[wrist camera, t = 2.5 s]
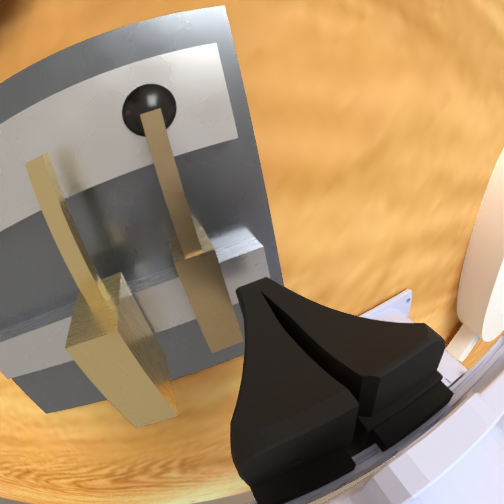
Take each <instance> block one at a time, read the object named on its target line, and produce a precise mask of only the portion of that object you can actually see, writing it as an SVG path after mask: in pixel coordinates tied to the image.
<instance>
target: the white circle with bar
mask: <svg viewBox="0 0 504 504" xmlns="http://www.w3.org/2000/svg"><path fill="white" fill-rule="evenodd" d="M457 314H458V318H459V320H460V322H461V323H463V325H462V326H461V328H460V329H459V331H458V332H457V334H456V335H455V336H454V338H453V339H452V340H451V342H450V343H449V345H448V346H447V347H446V350H447V351H448V352H449V353H450V354H451V355H452V356H453V357H454V358H456V359H457V360H459V361H461V362H463V361H464V359H465V358H466V357H467V355H468V354H469V353H470V351H471V350H472V348H473V347H474V346H475V344H476V343H477V341H478V340H479V338H481V339H482V340H484V341H485V342H489V341H491V340H493V339H495V338H496V337H497V336H498V335H499V334H500V333H501V332H502V331H503V330H504V149H503V151H502V152H501V154H500V156H499V158H498V161H497V163H496V165H495V168H494V170H493V172H492V175H491V177H490V180H489V183H488V185H487V188H486V191H485V194H484V197H483V200H482V203H481V205H480V209H479V212H478V215H477V218H476V221H475V224H474V228H473V231H472V234H471V238H470V241H469V245H468V248H467V252H466V256H465V260H464V264H463V268H462V272H461V277H460V282H459V288H458V295H457Z"/></svg>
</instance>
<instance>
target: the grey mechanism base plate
mask: <svg viewBox="0 0 504 504" xmlns="http://www.w3.org/2000/svg"><path fill="white" fill-rule="evenodd" d="M48 152H49V155H50V158H51V161H52V164H53V167H54V170H55V173H56V176H57V179H58V181H59V184H60V187H61V190H62V192H63V195H64V198H65V200H66V203H67V205H68V208H69V211H70V213H71V215H72V218H73V220H74V223H75V225H76V227H77V230H78V232H79V234H80V237H81V239H82V241H83V243H84V245H85V248H86V250H87V252H88V254H89V256H90V258H91V260H92V262H93V265H94V267H95V269H96V271H97V273H98V275H99V277H100V279H104V278H106V277H109V276H112V275H114V274H117V273H120V272H122V275H123V277H124V279H125V281H126V283H127V285H128V287H129V289H130V291H131V293H132V295H133V297H134V299H135V301H136V303H137V305H138V307H139V308H140V310H141V312H142V314H143V316H144V318H145V320H146V321H147V323H148V325H149V327H150V329H151V331H152V332H153V334H154V336H155V338H156V339H157V341H158V343H159V345H160V346H161V348H162V350H163V351H164V353H165V355H166V358H167V364H168V369H169V374H170V379H171V380H174V379H177V378H180V377H183V376H186V375H189V374H192V373H194V372H197V371H200V370H203V369H206V368H209V367H211V366H214V365H217V364H219V363H222V362H225V361H227V360H230V359H233V358H235V357H238V356H240V355H243V354H244V351H245V334H244V319H243V315H242V312H241V308H240V305H239V302H238V298H237V295H236V292H235V291H236V289H237V288H238V287H241V286H243V285H246V284H249V283H251V282H254V281H256V280H259V279H262V278H264V277H268V278H270V279H271V280H273V281H275V282H277V283H278V284H280V285H282V286H284V284H283V279H282V273H281V268H280V262H279V257H278V251H277V246H276V241H275V235H274V230H273V225H272V220H271V215H270V209H269V204H268V199H267V194H266V189H265V184H264V179H263V174H262V169H261V165H260V160H259V155H258V150H257V145H256V141H255V136H254V131H253V126H252V122H251V117H250V113H249V108H248V103H247V99H246V94H245V90H244V86H243V81H242V77H241V72H240V68H239V64H238V59H237V55H236V51H235V47H234V42H233V38H232V34H231V30H230V26H229V22H228V18H227V13H226V9H225V6H217V7H209V8H203V9H196V10H190V11H185V12H180V13H175V14H170V15H165V16H161V17H157V18H153V19H149V20H145V21H141V22H138V23H134V24H131V25H127V26H124V27H121V28H118V29H115V30H112V31H109V32H106V33H103V34H100V35H98V36H95V37H92V38H90V39H87V40H85V41H82V42H80V43H77V44H75V45H72V46H70V47H68V48H66V49H63V50H61V51H59V52H57V53H55V54H53V55H51V56H48V57H46V58H44V59H42V60H41V61H39V62H37V63H35V64H33V65H31V66H29V67H27V68H26V69H24V70H22V71H20V72H19V73H17V74H15V75H13V76H12V77H10V78H8V79H7V80H5V81H4V82H2V83H0V371H1V372H2V373H3V374H4V375H5V377H6V378H7V379H10V378H12V379H13V381H14V382H15V383H16V384H17V385H18V386H19V387H20V388H21V389H22V390H23V391H24V392H25V393H26V394H27V395H28V396H29V397H30V398H31V399H32V400H33V401H34V402H35V403H36V404H37V405H38V406H39V407H40V408H41V409H42V410H43V411H44V412H45V413H51V412H56V411H61V410H65V409H70V408H74V407H79V406H83V405H87V404H91V403H95V402H99V401H103V400H107V398H106V397H105V396H104V395H103V394H102V393H101V392H100V391H99V390H98V388H97V387H96V386H95V385H94V384H93V383H92V382H91V380H90V379H89V378H88V377H87V376H86V374H85V373H84V372H83V371H82V370H81V368H80V367H79V366H78V365H77V363H76V362H75V361H74V360H73V358H72V357H71V356H70V354H69V353H68V352H67V351H66V349H65V346H66V341H67V336H68V332H69V327H70V323H71V319H72V315H73V311H74V307H75V303H76V299H77V296H78V292H79V288H78V286H77V284H76V282H75V280H74V278H73V276H72V275H71V273H70V271H69V269H68V267H67V265H66V263H65V261H64V259H63V257H62V255H61V253H60V251H59V249H58V247H57V244H56V242H55V240H54V238H53V236H52V233H51V231H50V229H49V227H48V224H47V222H46V220H45V217H44V215H43V213H42V210H41V208H40V205H39V203H38V200H37V197H36V195H35V192H34V189H33V187H32V184H31V181H30V178H29V175H28V172H27V169H26V166H25V164H26V163H27V162H29V161H31V160H33V159H35V158H37V157H39V156H41V155H43V154H45V153H48Z"/></svg>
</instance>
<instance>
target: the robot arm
mask: <svg viewBox="0 0 504 504" xmlns="http://www.w3.org/2000/svg"><path fill="white" fill-rule="evenodd" d="M235 292H236V295H237V298H238V302H239V305H240V308H241V312H242V315H243V319H244V334H245V351H244V364H243V373H242V380H241V385H240V390H239V395H238V399H237V403H236V407H235V410H234V413H233V417H232V420H231V424H230V425H231V432H230V440H231V454H232V458H233V462H234V464H235V467H236V469H237V471H238V474H239V476H240V477H241V478H242V479H243V480H244V481H245V482H246V483H247V484H248V485H249V486H250V488H251V490H252V492H253V495H254V497H255V499H256V501H253V502H250V503H247V504H308V503H310V502H312V501H315V500H317V499H319V498H321V497H323V496H325V495H327V494H329V493H331V492H334V491H335V490H337V489H339V488H341V487H343V486H345V485H347V484H348V483H350V482H352V481H354V480H356V479H358V478H359V477H361V476H363V475H365V474H366V473H368V472H370V471H371V470H373V469H375V468H376V467H378V466H379V465H381V464H382V463H384V462H385V461H387V460H389V459H390V458H392V457H393V456H395V457H394V458H392V459H391V460H389V461H388V462H387V463H385V464H384V465H383V466H382V467H381V468H380V469H378V470H377V471H376V472H374V473H372V474H371V475H370V476H368V477H366V478H365V479H363V480H362V481H360V482H358V483H357V484H355V485H354V486H352V487H350V488H349V489H347V490H345V491H344V492H342V493H340V494H338V495H337V496H335V497H333V498H331V499H329V500H328V501H326V502H324V503H322V504H504V334H503V335H502V336H501V337H500V338H499V340H498V341H497V342H496V343H495V344H494V345H493V346H492V347H491V348H490V349H489V351H488V352H487V353H486V354H485V355H484V356H483V357H482V358H481V359H480V360H479V361H478V362H477V363H476V364H475V365H474V366H473V367H472V368H471V369H469V370H467V369H466V368H465V367H464V366H463V365H462V364H460V363H459V362H458V361H457V360H456V359H455V358H454V357H453V356H452V355H451V354H449V353H448V352H447V351H446V350H445V340H444V339H443V338H442V337H441V336H440V335H439V334H437V333H436V332H435V331H434V330H433V329H431V328H430V327H429V326H428V325H426V324H425V323H414V322H413V321H412V320H411V319H409V312H410V306H411V300H412V291H411V290H410V289H407V290H405V291H403V292H401V293H400V294H398V295H396V296H394V297H393V298H391V299H389V300H387V301H386V302H384V303H382V304H380V305H378V306H377V307H375V308H373V309H371V310H369V311H367V312H366V313H364V314H362V315H360V316H354V315H351V314H347V313H344V312H340V311H337V310H334V309H331V308H328V307H325V306H323V305H320V304H318V303H316V302H313V301H311V300H309V299H307V298H305V297H303V296H301V295H299V294H297V293H295V292H293V291H291V290H289V289H287V288H285V287H284V286H282V285H280V284H278V283H277V282H275V281H273V280H271V279H270V278H268V277H264V278H262V279H259V280H256V281H254V282H251V283H249V284H246V285H243V286H241V287H238V288H237V289H236V291H235Z"/></svg>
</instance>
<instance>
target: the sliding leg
mask: <svg viewBox="0 0 504 504" xmlns="http://www.w3.org/2000/svg"><path fill="white" fill-rule="evenodd" d="M25 166H26V169H27V172H28V175H29V178H30V181H31V184H32V187H33V189H34V192H35V195H36V197H37V200H38V203H39V205H40V208H41V210H42V213H43V215H44V217H45V220H46V222H47V224H48V227H49V229H50V231H51V233H52V236H53V238H54V240H55V242H56V244H57V247H58V249H59V251H60V253H61V255H62V257H63V259H64V261H65V263H66V265H67V267H68V269H69V271H70V273H71V275H72V276H73V278H74V280H75V282H76V284H77V286H78V288H79V292H78V296H77V299H76V303H75V307H74V311H73V315H72V319H71V323H70V327H69V332H68V336H67V341H66V346H65V349H66V351H67V352H68V353H69V354H70V356H71V357H72V358H73V360H74V361H75V362H76V363H77V365H78V366H79V367H80V368H81V370H82V371H83V372H84V373H85V374H86V376H87V377H88V378H89V379H90V380H91V382H92V383H93V384H94V385H95V386H96V387H97V388H98V390H99V391H100V392H101V393H102V394H103V395H104V396H105V397H106V398H107V399H108V401H109V402H110V403H111V404H112V405H113V406H114V407H115V408H116V409H117V410H118V411H119V412H120V413H121V414H122V415H123V416H124V417H125V418H126V419H127V420H128V421H129V422H130V423H131V424H132V425H133V426H134V427H135V428H138V427H142V426H145V425H149V424H153V423H156V422H160V421H164V420H167V419H170V418H174V417H177V416H178V411H177V407H176V403H175V398H174V394H173V389H172V384H171V379H170V374H169V369H168V364H167V358H166V355H165V353H164V351H163V350H162V348H161V346H160V345H159V343H158V341H157V339H156V338H155V336H154V334H153V332H152V331H151V329H150V327H149V325H148V323H147V321H146V320H145V318H144V316H143V314H142V312H141V310H140V308H139V307H138V305H137V303H136V301H135V299H134V297H133V295H132V293H131V291H130V289H129V287H128V285H127V283H126V281H125V279H124V277H123V275H122V272H120V273H117V274H114V275H112V276H109V277H106V278H104V279H100V277H99V275H98V273H97V271H96V269H95V267H94V265H93V262H92V260H91V258H90V256H89V254H88V252H87V250H86V248H85V245H84V243H83V241H82V239H81V237H80V234H79V232H78V230H77V227H76V225H75V223H74V220H73V218H72V215H71V213H70V211H69V208H68V205H67V203H66V200H65V198H64V195H63V192H62V190H61V187H60V184H59V181H58V179H57V176H56V173H55V170H54V167H53V164H52V161H51V158H50V155H49V152H48V153H45V154H43V155H41V156H39V157H37V158H35V159H33V160H31V161H29V162H27V163H26V164H25Z"/></svg>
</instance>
